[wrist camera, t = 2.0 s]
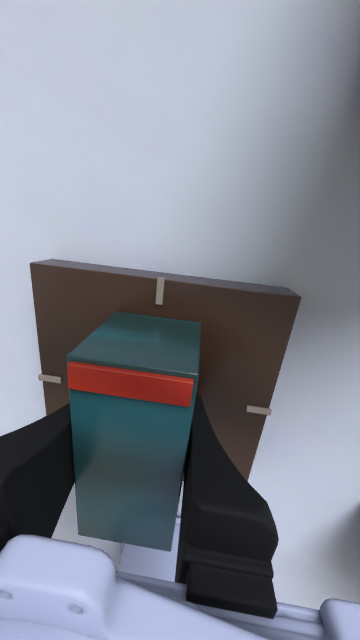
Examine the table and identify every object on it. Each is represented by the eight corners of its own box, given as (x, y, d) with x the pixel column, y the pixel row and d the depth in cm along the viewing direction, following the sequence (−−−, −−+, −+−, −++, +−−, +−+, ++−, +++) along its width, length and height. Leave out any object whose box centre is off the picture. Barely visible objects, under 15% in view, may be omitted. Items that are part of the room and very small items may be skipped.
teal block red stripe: (180, 460, 16) (170, 559, 11) (114, 448, 16) (75, 541, 11) (201, 322, 13) (198, 378, 8) (116, 310, 13) (62, 358, 8)
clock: (241, 466, 18) (246, 494, 16) (64, 437, 19) (48, 461, 17) (290, 286, 14) (305, 295, 12) (50, 257, 14) (24, 260, 12)
